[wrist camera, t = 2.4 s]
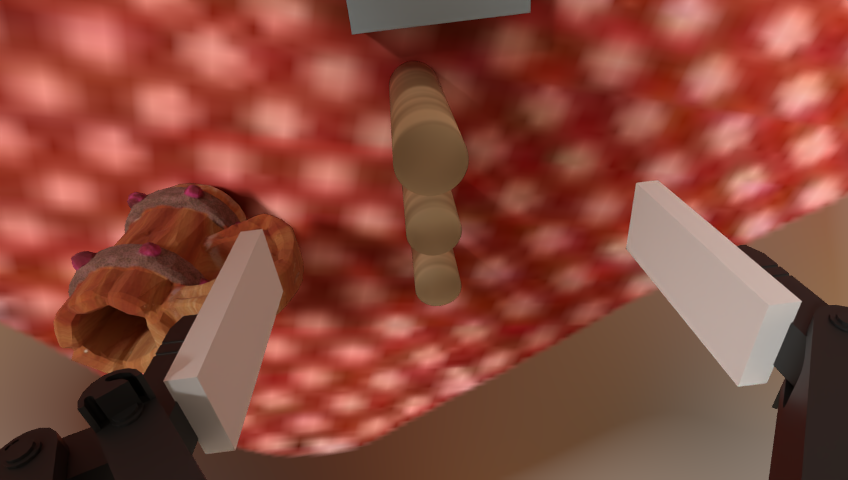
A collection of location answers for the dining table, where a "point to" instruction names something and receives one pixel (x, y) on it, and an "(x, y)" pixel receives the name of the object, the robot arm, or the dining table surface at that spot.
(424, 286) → the dowel short
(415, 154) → the dowel long
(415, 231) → the dowel medium
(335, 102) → the dining table surface
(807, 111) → the dining table surface
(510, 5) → the hole block
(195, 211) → the mug
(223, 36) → the dining table surface
